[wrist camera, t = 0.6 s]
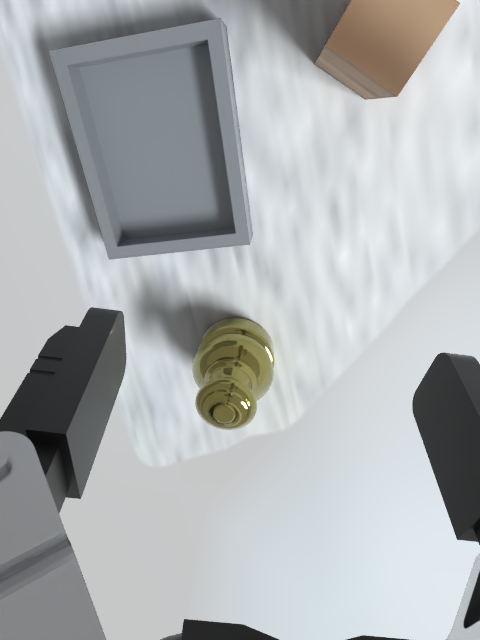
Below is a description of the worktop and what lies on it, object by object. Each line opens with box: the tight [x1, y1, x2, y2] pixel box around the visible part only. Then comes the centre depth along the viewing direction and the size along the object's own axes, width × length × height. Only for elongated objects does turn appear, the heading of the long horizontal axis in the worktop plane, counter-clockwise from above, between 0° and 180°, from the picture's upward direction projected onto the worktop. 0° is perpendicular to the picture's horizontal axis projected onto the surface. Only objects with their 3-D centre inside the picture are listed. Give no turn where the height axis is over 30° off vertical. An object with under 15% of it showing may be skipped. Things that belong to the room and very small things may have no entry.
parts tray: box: [49, 18, 253, 259], centre depth 32 cm, size 15×12×3 cm
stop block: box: [315, 0, 460, 99], centre depth 25 cm, size 4×4×10 cm
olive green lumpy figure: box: [192, 318, 274, 430], centre depth 37 cm, size 7×7×10 cm
